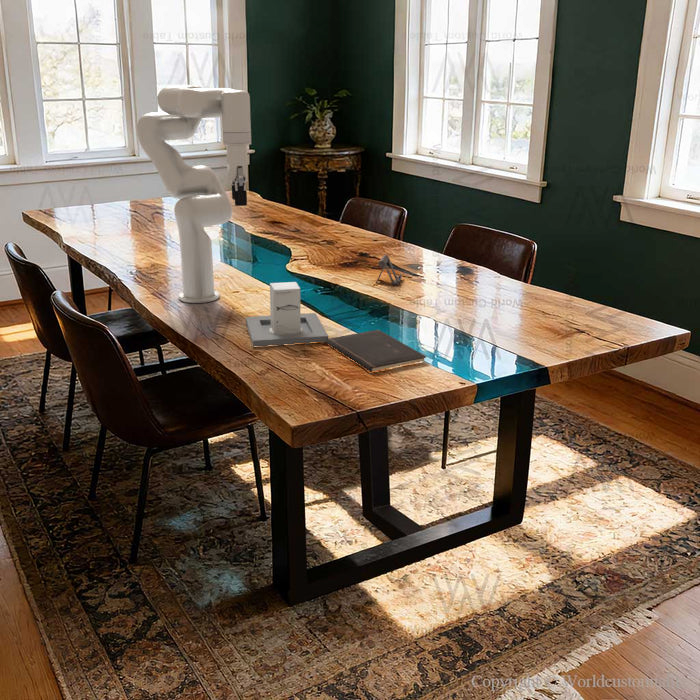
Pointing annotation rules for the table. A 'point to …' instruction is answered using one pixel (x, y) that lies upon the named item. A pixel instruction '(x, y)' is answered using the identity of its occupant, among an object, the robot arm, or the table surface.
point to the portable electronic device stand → (383, 264)
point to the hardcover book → (375, 350)
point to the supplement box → (285, 307)
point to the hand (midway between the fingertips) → (239, 202)
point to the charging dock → (265, 336)
